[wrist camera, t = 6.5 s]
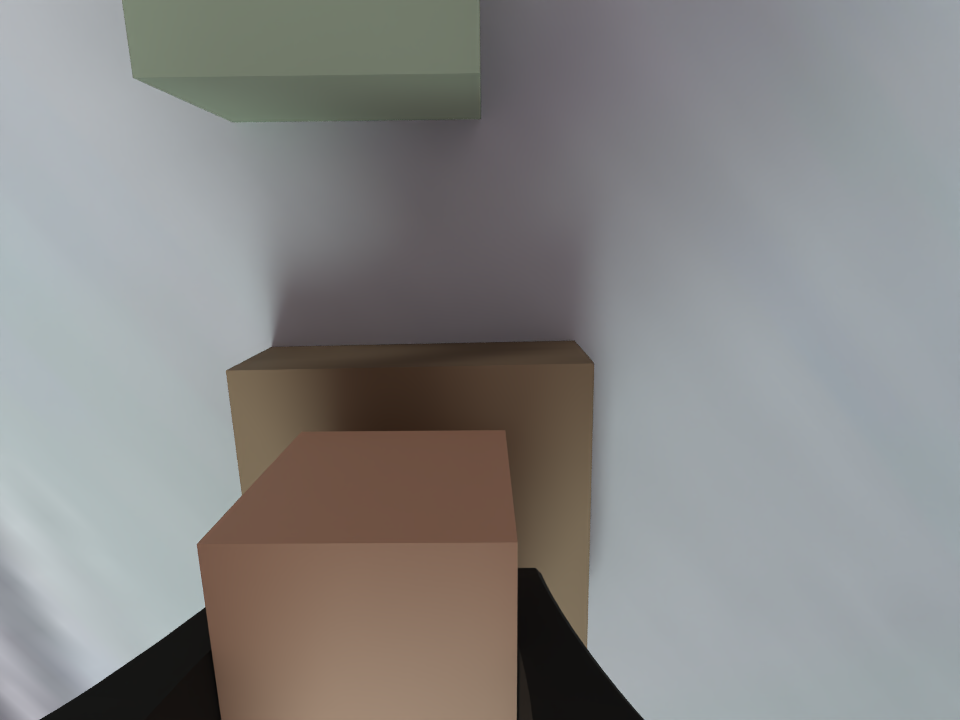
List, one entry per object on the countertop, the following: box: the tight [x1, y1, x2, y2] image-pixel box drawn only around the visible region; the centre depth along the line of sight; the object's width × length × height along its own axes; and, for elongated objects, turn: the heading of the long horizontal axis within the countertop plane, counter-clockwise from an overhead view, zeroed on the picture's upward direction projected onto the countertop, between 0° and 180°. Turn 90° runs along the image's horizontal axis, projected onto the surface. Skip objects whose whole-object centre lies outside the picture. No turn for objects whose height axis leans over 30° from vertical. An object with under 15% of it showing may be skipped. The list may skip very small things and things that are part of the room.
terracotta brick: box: [197, 430, 518, 720], centre depth 9 cm, size 6×4×4 cm, turn 1°
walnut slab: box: [226, 341, 594, 648], centre depth 14 cm, size 8×8×3 cm
